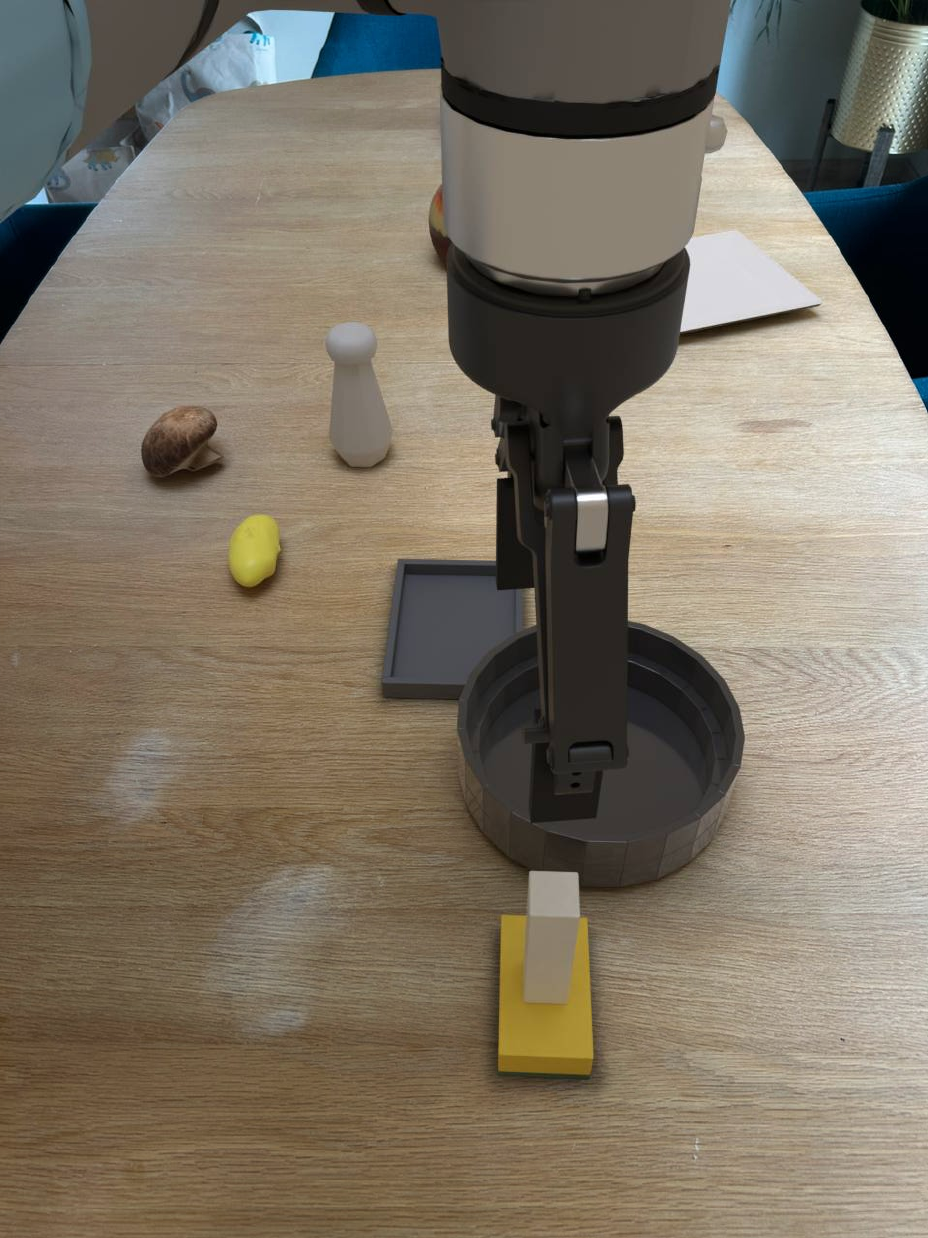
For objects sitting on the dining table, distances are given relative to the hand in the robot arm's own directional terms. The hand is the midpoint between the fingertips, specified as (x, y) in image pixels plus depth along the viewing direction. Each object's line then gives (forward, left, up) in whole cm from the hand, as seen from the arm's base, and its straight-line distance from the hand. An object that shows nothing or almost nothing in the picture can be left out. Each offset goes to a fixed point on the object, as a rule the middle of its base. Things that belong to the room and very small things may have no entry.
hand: (540, 687), depth 46 cm
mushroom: (-53, +9, -22) cm, 58 cm away
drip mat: (-20, +13, -22) cm, 32 cm away
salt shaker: (-43, +22, -22) cm, 53 cm away
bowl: (-4, +11, -22) cm, 24 cm away
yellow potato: (-37, +6, -22) cm, 43 cm away
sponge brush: (+5, -3, -22) cm, 22 cm away
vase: (-64, +56, -22) cm, 88 cm away
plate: (-40, +69, -22) cm, 82 cm away
